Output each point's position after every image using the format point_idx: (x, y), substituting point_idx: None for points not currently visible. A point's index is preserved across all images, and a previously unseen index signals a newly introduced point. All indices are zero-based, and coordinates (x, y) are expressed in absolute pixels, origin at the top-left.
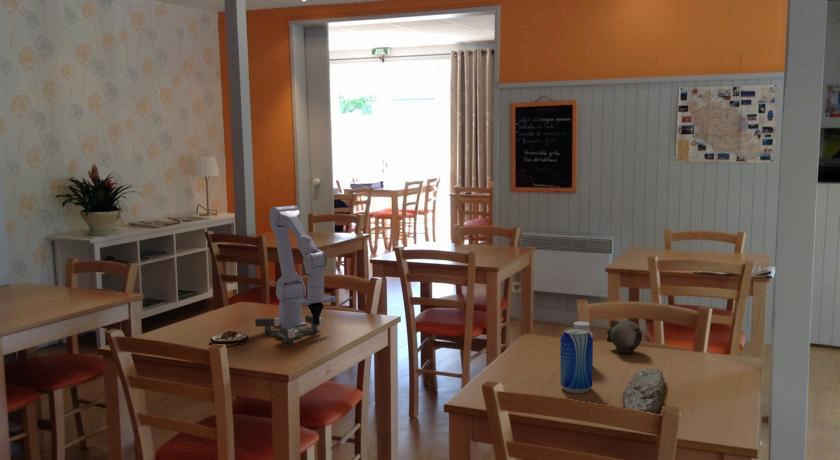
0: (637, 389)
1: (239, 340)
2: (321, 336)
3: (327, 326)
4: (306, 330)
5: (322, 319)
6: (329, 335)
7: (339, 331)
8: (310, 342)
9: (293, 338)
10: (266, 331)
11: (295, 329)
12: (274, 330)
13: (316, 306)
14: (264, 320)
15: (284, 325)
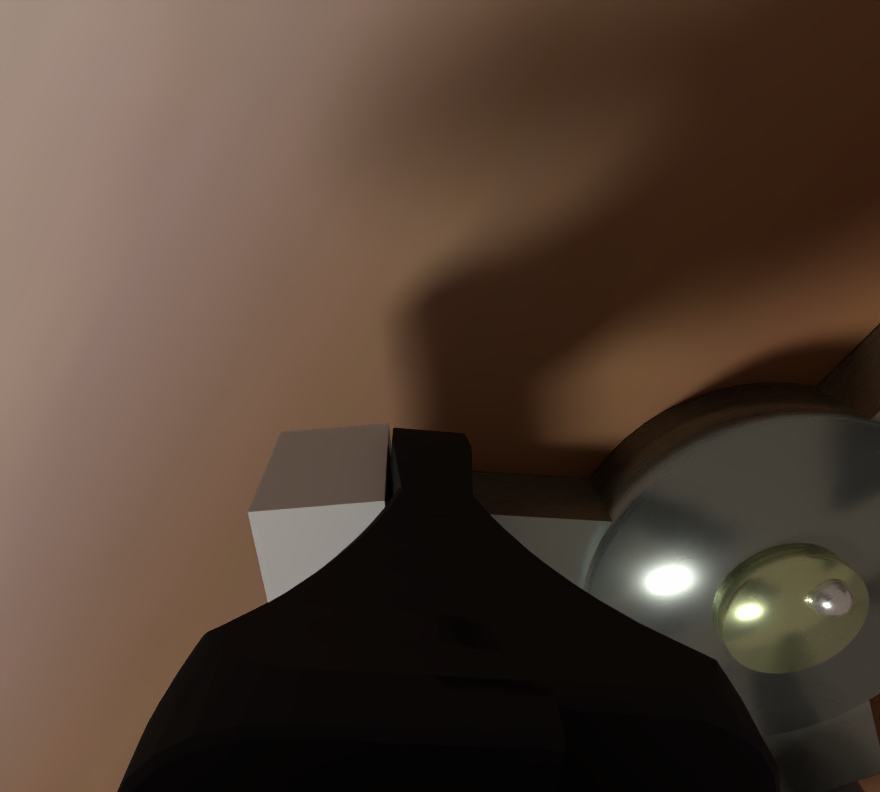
0: None
1: None
2: (433, 241)
3: (83, 634)
4: (547, 511)
5: (279, 492)
6: (296, 196)
7: (32, 296)
8: (800, 33)
9: (877, 357)
10: (856, 782)
11: (701, 586)
12: (846, 734)
13: (593, 784)
14: None
15: None
